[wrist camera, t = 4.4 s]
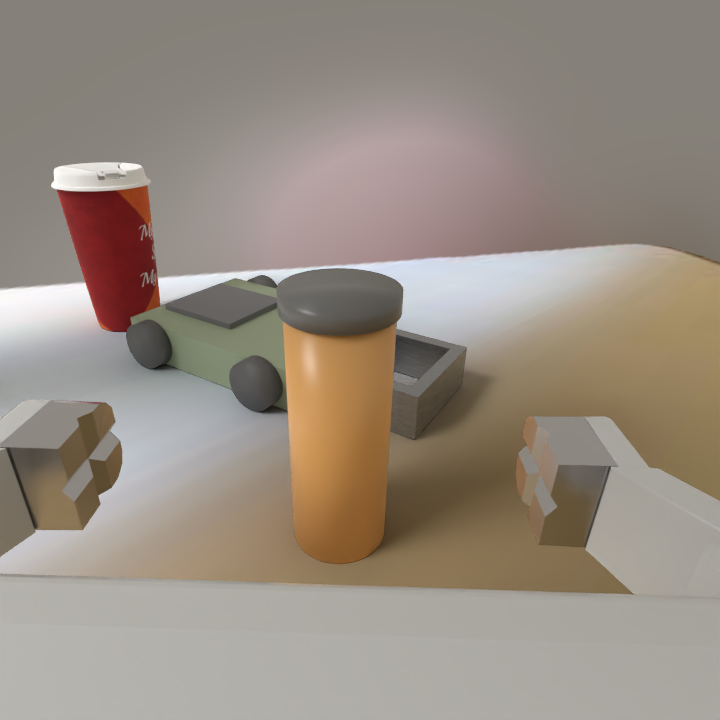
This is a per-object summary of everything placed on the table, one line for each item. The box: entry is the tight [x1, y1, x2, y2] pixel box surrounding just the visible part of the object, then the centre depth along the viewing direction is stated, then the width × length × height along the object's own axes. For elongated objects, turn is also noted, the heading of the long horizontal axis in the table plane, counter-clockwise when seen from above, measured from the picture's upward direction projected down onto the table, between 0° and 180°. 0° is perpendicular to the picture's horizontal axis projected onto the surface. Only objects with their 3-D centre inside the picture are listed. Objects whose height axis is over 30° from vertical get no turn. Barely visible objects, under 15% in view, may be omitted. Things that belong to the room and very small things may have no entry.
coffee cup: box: [51, 163, 160, 332], centre depth 49 cm, size 8×8×15 cm
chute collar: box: [390, 329, 467, 440], centre depth 40 cm, size 9×9×4 cm
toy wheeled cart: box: [126, 275, 288, 412], centre depth 46 cm, size 18×16×4 cm
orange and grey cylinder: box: [276, 268, 403, 564], centre depth 25 cm, size 5×5×14 cm
